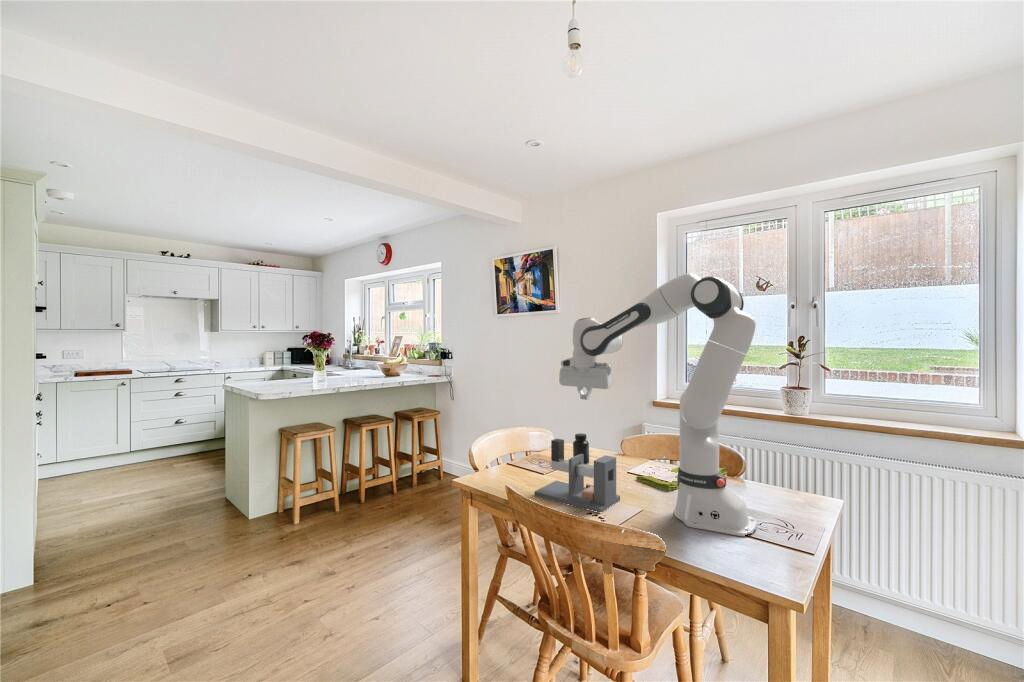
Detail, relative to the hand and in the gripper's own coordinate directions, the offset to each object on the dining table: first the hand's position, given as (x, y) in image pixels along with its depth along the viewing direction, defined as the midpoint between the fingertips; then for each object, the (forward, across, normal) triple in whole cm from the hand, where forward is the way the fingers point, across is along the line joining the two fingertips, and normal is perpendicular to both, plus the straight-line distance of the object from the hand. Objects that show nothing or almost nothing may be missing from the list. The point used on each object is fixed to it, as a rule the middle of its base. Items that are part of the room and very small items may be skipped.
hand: (584, 399), depth 166 cm
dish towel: (+32, -27, -28) cm, 50 cm away
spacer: (+27, -11, +15) cm, 33 cm away
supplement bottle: (+31, +14, -22) cm, 41 cm away
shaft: (+23, -6, +15) cm, 28 cm away
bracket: (+31, -5, +15) cm, 35 cm away
